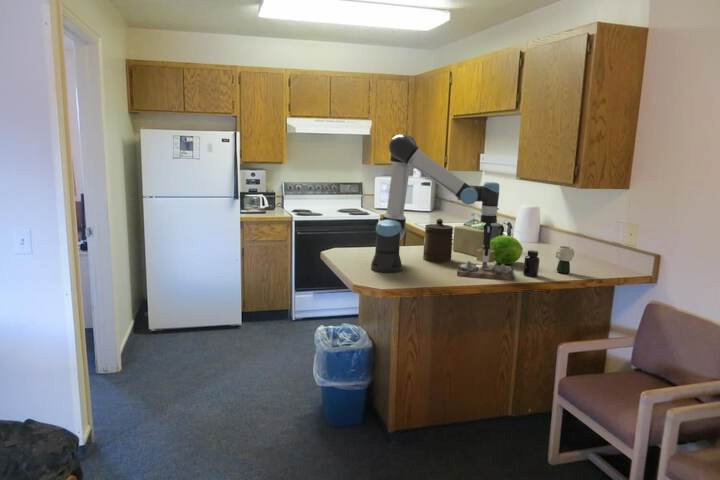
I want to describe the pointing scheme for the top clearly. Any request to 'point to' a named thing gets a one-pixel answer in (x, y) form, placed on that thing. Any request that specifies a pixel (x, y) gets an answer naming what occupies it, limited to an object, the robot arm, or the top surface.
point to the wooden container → (438, 242)
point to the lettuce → (506, 249)
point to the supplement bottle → (531, 264)
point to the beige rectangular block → (467, 240)
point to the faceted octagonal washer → (480, 255)
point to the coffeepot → (496, 230)
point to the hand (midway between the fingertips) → (485, 260)
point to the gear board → (485, 271)
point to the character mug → (564, 258)
